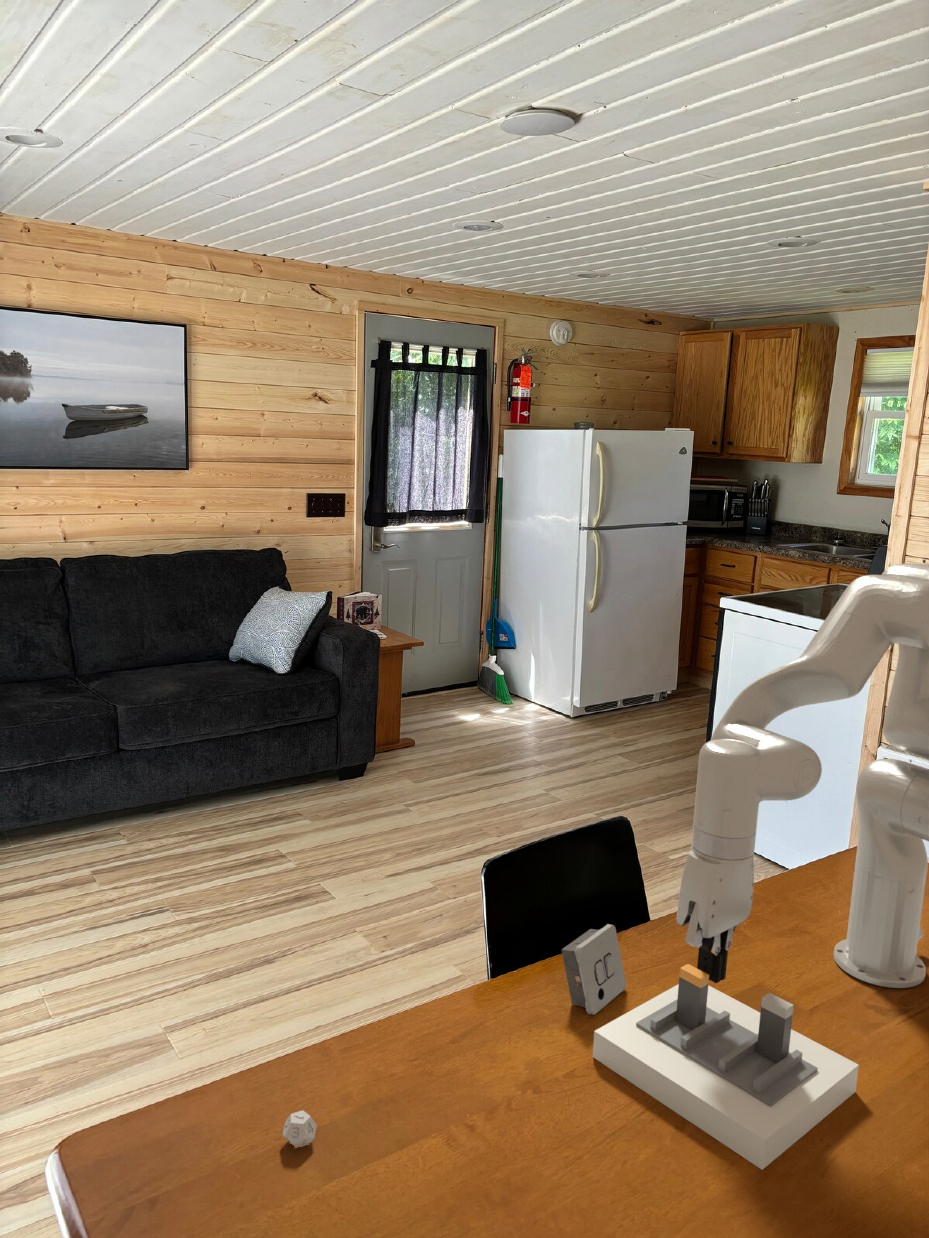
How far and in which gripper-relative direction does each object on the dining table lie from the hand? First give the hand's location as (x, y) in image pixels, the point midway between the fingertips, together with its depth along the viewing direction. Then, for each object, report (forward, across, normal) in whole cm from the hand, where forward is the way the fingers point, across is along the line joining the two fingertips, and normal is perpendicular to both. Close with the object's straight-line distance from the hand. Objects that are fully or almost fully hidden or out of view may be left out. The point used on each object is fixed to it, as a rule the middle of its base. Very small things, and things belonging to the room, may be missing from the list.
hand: (710, 976), depth 122 cm
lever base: (+9, +4, +5) cm, 11 cm away
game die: (+10, +50, -17) cm, 53 cm away
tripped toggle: (+5, +4, 0) cm, 6 cm away
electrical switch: (+10, +4, -16) cm, 19 cm away
